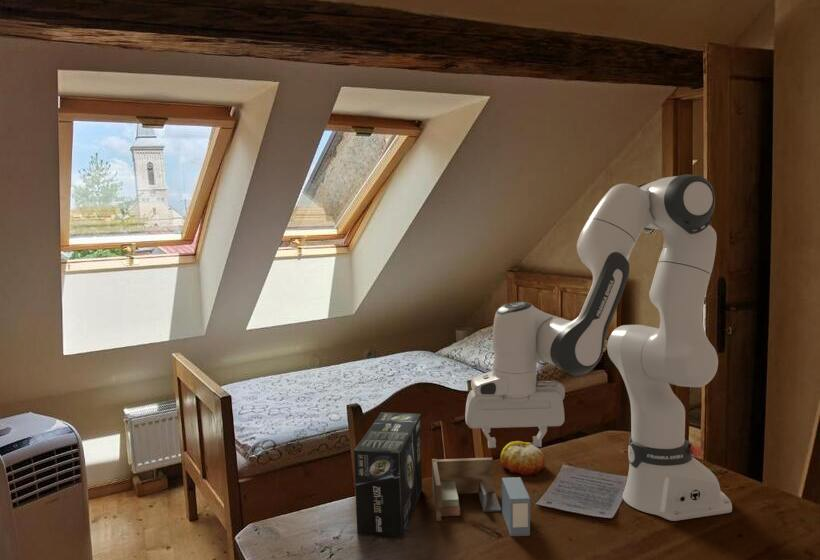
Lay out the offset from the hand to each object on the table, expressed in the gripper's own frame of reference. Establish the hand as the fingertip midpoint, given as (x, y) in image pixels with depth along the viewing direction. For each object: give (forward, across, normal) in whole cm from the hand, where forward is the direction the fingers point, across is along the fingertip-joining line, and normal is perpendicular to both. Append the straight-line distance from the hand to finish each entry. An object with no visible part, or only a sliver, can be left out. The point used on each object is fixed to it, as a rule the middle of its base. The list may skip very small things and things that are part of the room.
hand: (514, 446), depth 135 cm
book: (+17, 0, 0) cm, 17 cm away
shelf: (+17, +9, -10) cm, 22 cm away
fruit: (+17, -7, -28) cm, 33 cm away
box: (+17, +26, -8) cm, 32 cm away
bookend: (+17, +4, -10) cm, 20 cm away
